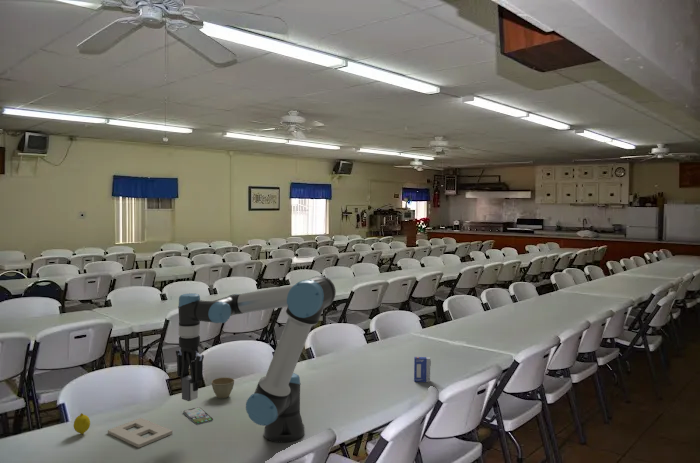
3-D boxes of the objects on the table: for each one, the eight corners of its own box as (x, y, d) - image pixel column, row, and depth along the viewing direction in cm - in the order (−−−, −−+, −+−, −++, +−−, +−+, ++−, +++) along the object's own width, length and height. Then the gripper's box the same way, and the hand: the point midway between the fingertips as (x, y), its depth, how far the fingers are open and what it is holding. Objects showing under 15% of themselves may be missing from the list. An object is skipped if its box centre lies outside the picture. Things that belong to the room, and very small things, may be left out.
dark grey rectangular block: (197, 398, 195) (197, 376, 194) (188, 401, 192) (188, 379, 191) (190, 395, 197) (190, 374, 197) (181, 398, 194) (181, 377, 193)
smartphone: (196, 424, 205) (182, 410, 216) (196, 426, 205) (182, 413, 216) (214, 419, 209) (199, 406, 221) (214, 422, 209) (199, 409, 221)
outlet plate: (172, 433, 197) (172, 430, 197) (138, 447, 185) (138, 444, 185) (141, 420, 208) (141, 417, 208) (107, 433, 197) (107, 430, 197)
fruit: (73, 438, 192) (72, 417, 192) (74, 432, 197) (74, 411, 197) (89, 435, 194) (89, 414, 194) (90, 429, 199) (90, 409, 199)
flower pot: (238, 396, 235) (238, 380, 235) (219, 402, 228) (219, 386, 227) (226, 390, 242) (226, 375, 242) (207, 396, 235) (207, 380, 234)
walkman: (414, 381, 257) (414, 357, 256) (414, 379, 259) (414, 356, 259) (430, 382, 256) (430, 358, 255) (429, 380, 259) (430, 356, 258)
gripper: (212, 337, 191) (213, 399, 193) (183, 330, 201) (183, 389, 202) (196, 341, 185) (196, 406, 186) (166, 334, 195) (167, 395, 196)
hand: (189, 397), depth 194 cm, fingers closed on dark grey rectangular block, 4 cm apart
